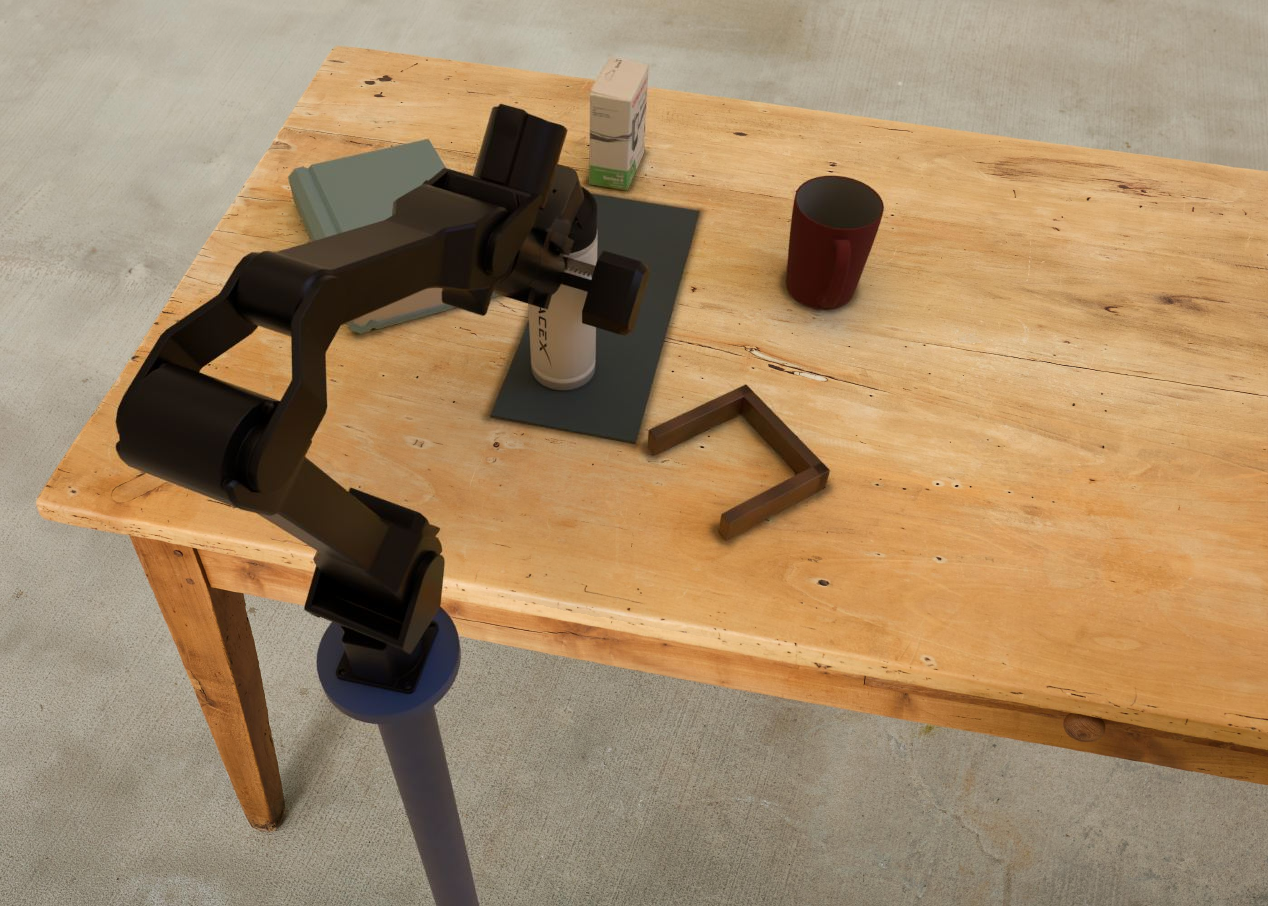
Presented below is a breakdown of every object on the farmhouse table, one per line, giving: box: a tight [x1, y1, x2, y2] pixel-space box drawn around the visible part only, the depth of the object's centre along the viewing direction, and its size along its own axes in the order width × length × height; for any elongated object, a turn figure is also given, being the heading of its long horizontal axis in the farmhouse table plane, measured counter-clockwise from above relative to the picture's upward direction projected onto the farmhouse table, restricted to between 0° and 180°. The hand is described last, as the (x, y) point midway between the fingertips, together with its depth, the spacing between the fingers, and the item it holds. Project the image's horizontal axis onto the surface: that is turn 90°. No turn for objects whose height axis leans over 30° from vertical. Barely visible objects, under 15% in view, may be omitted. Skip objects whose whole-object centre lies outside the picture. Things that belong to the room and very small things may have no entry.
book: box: [287, 138, 501, 335], centre depth 113 cm, size 23×16×5 cm
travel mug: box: [527, 185, 598, 390], centre depth 96 cm, size 6×7×20 cm
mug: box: [785, 175, 885, 310], centre depth 108 cm, size 12×9×11 cm
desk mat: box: [489, 193, 700, 445], centre depth 110 cm, size 36×14×1 cm, turn 168°
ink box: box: [588, 57, 650, 191], centre depth 121 cm, size 9×5×12 cm, turn 166°
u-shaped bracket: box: [646, 384, 831, 541], centre depth 96 cm, size 11×12×2 cm
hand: (565, 282), depth 97 cm, fingers open, 9 cm apart
